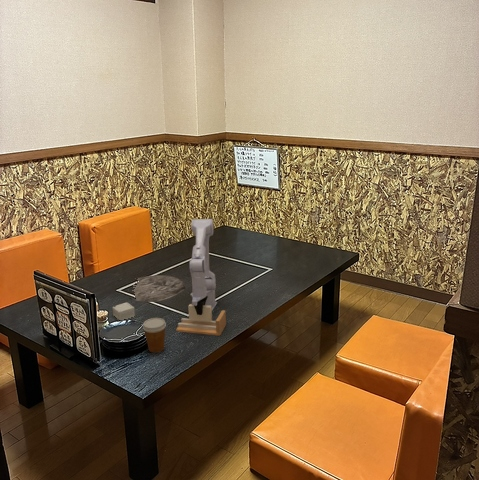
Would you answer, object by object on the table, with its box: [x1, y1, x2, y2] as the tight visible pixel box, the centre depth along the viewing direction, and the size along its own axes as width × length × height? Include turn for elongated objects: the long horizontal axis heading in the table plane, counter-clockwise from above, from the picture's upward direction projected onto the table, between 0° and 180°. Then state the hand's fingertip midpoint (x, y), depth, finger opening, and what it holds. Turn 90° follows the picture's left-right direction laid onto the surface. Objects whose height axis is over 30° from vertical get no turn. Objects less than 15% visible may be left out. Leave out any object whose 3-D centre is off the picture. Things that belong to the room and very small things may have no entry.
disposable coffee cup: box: [142, 317, 167, 353], centre depth 192 cm, size 10×10×12 cm
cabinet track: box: [175, 310, 227, 336], centre depth 208 cm, size 10×20×7 cm, turn 76°
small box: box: [112, 302, 136, 321], centre depth 221 cm, size 8×8×5 cm
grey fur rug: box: [132, 274, 186, 303], centre depth 253 cm, size 33×35×1 cm
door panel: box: [187, 303, 213, 322], centre depth 207 cm, size 2×10×7 cm, turn 76°
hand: (200, 313), depth 207 cm, fingers closed on door panel, 2 cm apart
